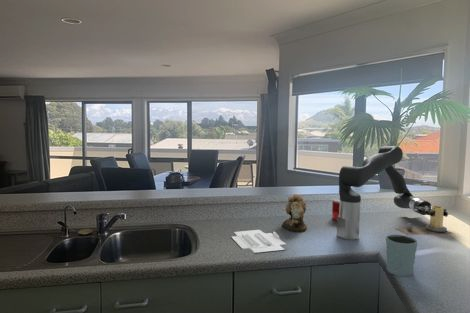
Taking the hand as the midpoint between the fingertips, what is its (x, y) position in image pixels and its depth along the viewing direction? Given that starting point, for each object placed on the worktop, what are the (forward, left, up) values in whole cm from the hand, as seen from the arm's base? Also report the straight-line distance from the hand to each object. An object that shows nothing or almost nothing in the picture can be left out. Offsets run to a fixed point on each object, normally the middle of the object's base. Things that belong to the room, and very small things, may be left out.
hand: (440, 214), depth 164 cm
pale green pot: (-52, -24, -10) cm, 58 cm away
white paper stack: (-86, +23, -11) cm, 90 cm away
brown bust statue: (-60, +35, -10) cm, 70 cm away
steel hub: (+1, +2, -8) cm, 9 cm away
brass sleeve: (+1, +2, -7) cm, 7 cm away
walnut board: (-6, +4, -10) cm, 12 cm away
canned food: (-29, +38, -10) cm, 49 cm away
